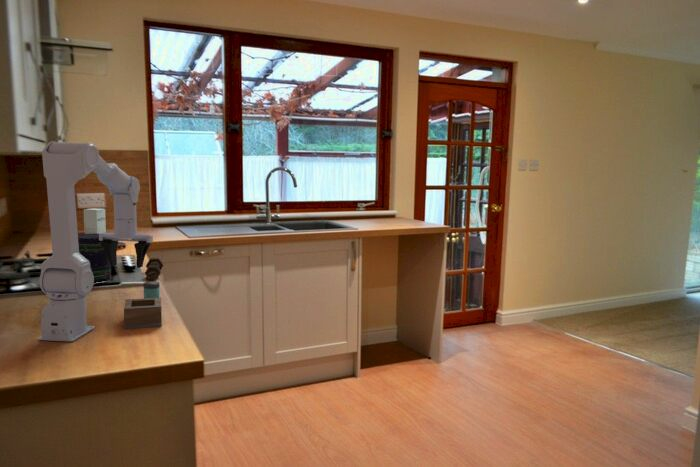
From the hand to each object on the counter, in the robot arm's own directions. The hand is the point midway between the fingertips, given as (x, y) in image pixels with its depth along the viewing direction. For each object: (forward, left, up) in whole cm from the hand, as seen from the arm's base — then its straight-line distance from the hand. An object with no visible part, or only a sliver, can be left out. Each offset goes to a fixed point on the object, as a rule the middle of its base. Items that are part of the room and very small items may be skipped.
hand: (126, 266), depth 144 cm
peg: (-6, -9, -10) cm, 15 cm away
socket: (-18, -12, -10) cm, 24 cm away
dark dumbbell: (+31, +5, -10) cm, 33 cm away
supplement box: (+114, +71, -10) cm, 135 cm away
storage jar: (+20, +21, -10) cm, 31 cm away
